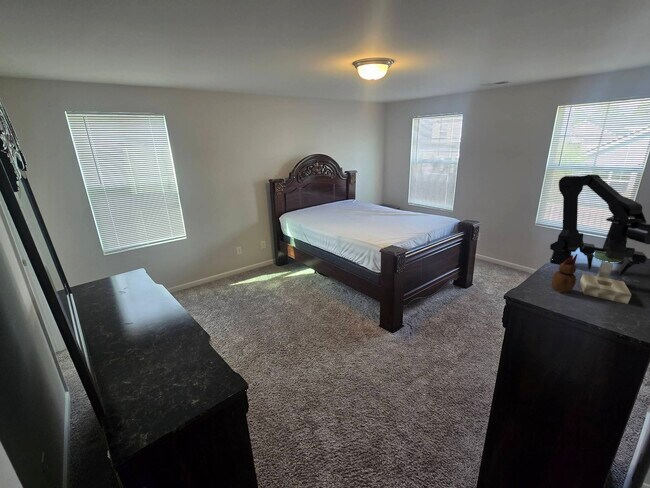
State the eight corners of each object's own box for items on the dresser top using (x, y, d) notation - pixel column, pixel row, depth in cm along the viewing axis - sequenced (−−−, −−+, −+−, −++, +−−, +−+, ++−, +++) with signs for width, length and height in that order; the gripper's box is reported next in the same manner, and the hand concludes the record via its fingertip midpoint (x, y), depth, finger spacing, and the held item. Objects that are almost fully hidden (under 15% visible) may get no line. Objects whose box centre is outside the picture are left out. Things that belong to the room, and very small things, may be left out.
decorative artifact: (619, 258, 145) (592, 253, 151) (624, 244, 143) (597, 240, 148) (623, 265, 138) (594, 260, 143) (628, 251, 135) (599, 246, 141)
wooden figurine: (567, 288, 116) (579, 252, 110) (573, 295, 110) (586, 258, 105) (547, 285, 118) (558, 250, 112) (552, 292, 112) (563, 255, 107)
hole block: (583, 294, 111) (586, 285, 110) (579, 282, 121) (582, 273, 119) (627, 304, 105) (631, 294, 104) (619, 290, 114) (623, 281, 113)
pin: (596, 281, 120) (603, 263, 118) (595, 279, 123) (601, 261, 120) (606, 283, 119) (613, 265, 116) (605, 281, 121) (611, 262, 118)
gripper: (589, 236, 113) (576, 273, 118) (659, 246, 103) (641, 287, 108) (585, 228, 121) (573, 264, 127) (649, 237, 112) (633, 275, 117)
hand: (603, 272), depth 120 cm, fingers open, 9 cm apart
